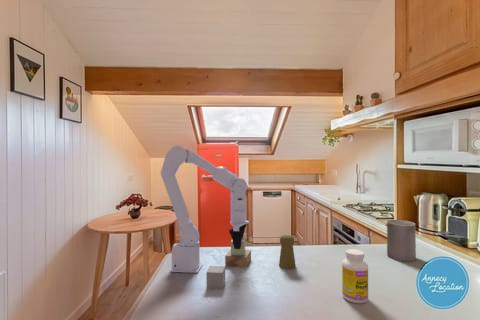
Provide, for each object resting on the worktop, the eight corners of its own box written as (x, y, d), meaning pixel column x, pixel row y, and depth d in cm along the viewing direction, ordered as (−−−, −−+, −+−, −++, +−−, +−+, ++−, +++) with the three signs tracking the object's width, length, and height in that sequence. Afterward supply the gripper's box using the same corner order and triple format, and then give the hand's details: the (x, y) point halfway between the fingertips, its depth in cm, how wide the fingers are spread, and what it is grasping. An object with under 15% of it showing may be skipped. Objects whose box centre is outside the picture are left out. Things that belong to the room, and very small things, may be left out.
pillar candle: (384, 252, 112) (384, 216, 112) (411, 254, 110) (410, 216, 110) (390, 260, 103) (390, 221, 103) (420, 263, 100) (419, 222, 100)
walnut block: (225, 266, 100) (225, 255, 100) (231, 258, 107) (231, 248, 107) (246, 268, 98) (246, 257, 98) (251, 260, 105) (251, 250, 105)
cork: (295, 269, 95) (295, 238, 95) (278, 268, 96) (278, 237, 96) (295, 263, 101) (295, 233, 101) (279, 262, 102) (279, 233, 102)
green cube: (231, 255, 100) (230, 241, 100) (232, 250, 105) (232, 237, 105) (244, 255, 100) (244, 241, 100) (245, 250, 105) (245, 237, 105)
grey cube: (206, 288, 82) (206, 272, 82) (209, 281, 87) (209, 265, 87) (223, 289, 81) (222, 272, 81) (225, 282, 86) (225, 266, 86)
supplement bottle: (355, 306, 71) (355, 257, 71) (337, 295, 77) (336, 249, 77) (374, 301, 73) (373, 253, 74) (354, 290, 80) (354, 246, 80)
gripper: (247, 213, 95) (247, 252, 95) (249, 206, 109) (250, 240, 109) (227, 213, 96) (227, 251, 96) (232, 206, 110) (232, 239, 110)
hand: (238, 245), depth 103 cm, fingers open, 7 cm apart
